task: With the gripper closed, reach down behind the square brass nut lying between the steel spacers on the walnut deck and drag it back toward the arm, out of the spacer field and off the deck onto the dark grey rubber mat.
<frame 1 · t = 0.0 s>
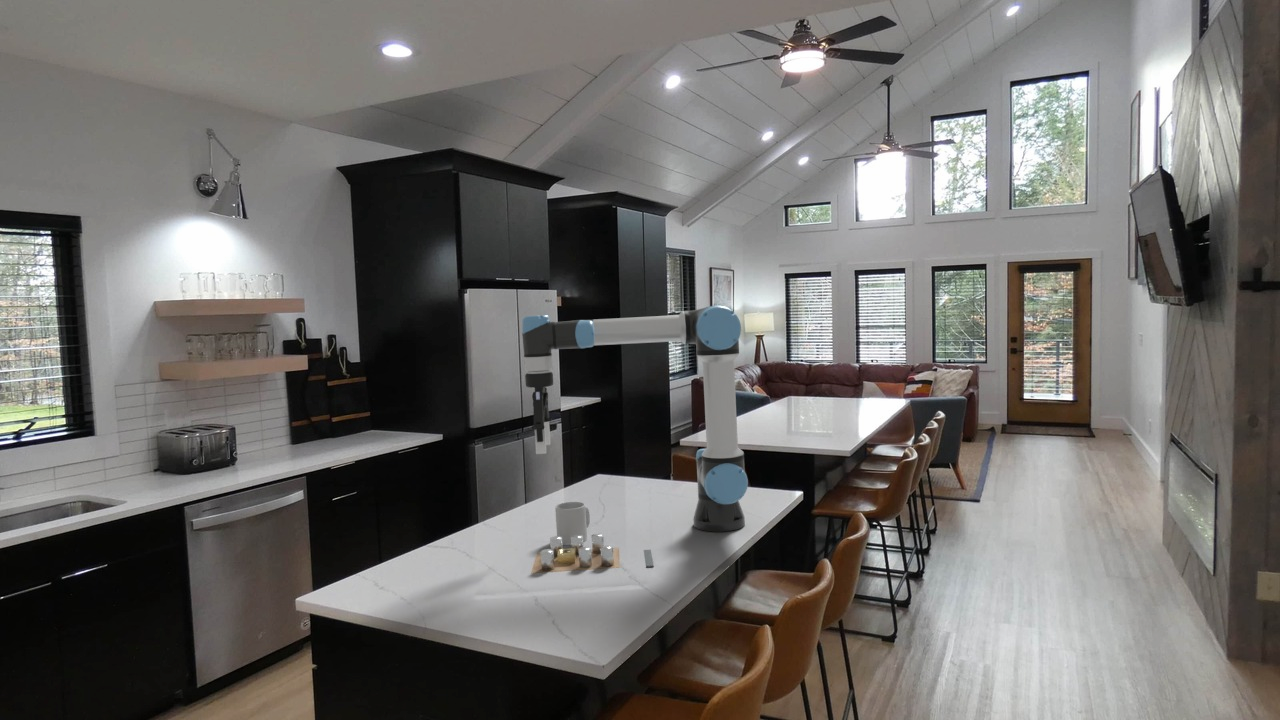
hand: (543, 449, 207), 28 cm above the kitchen island, fingers open, 13 cm apart
mat: (636, 559, 195), on the kitchen island
deck: (577, 563, 195), on the kitchen island
spacers: (578, 551, 195), on the deck, point 3 cm above the kitchen island
nut: (567, 560, 194), point 1 cm above the kitchen island, touching deck
mug: (576, 542, 214), on the kitchen island
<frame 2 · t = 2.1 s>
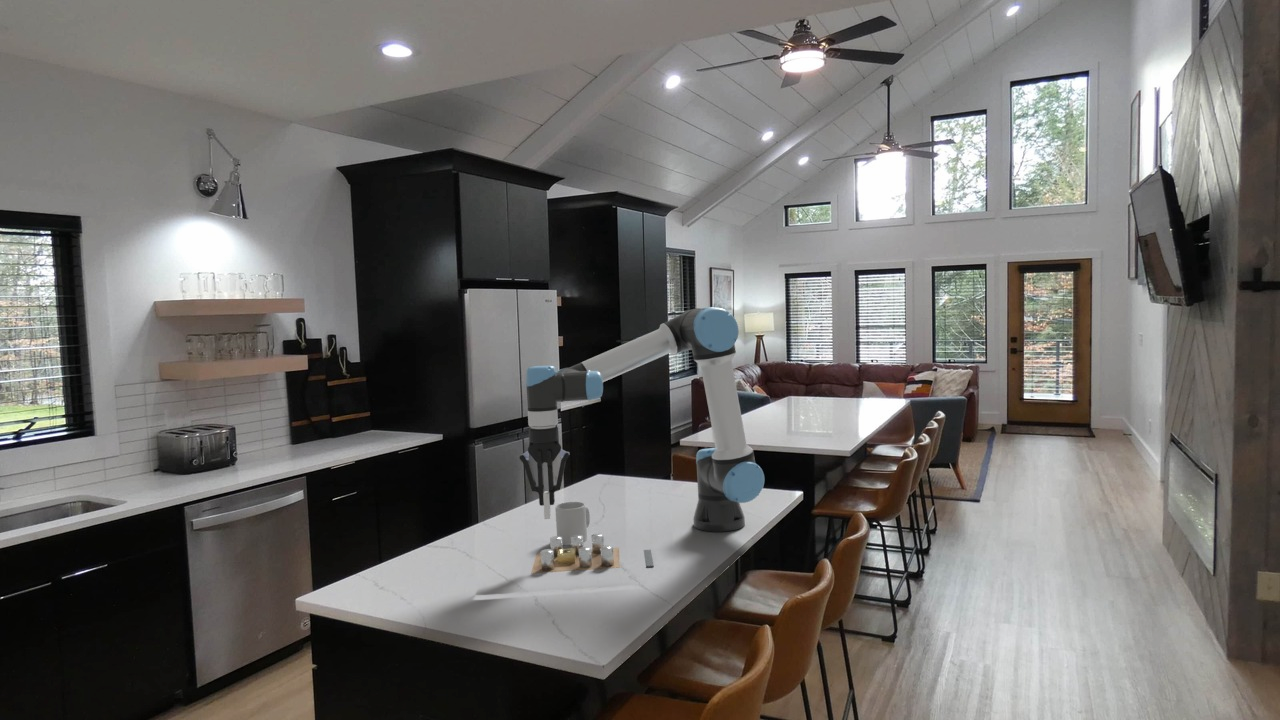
hand: (547, 517, 193), 13 cm above the kitchen island, fingers closed
nothing on the kitchen island moved.
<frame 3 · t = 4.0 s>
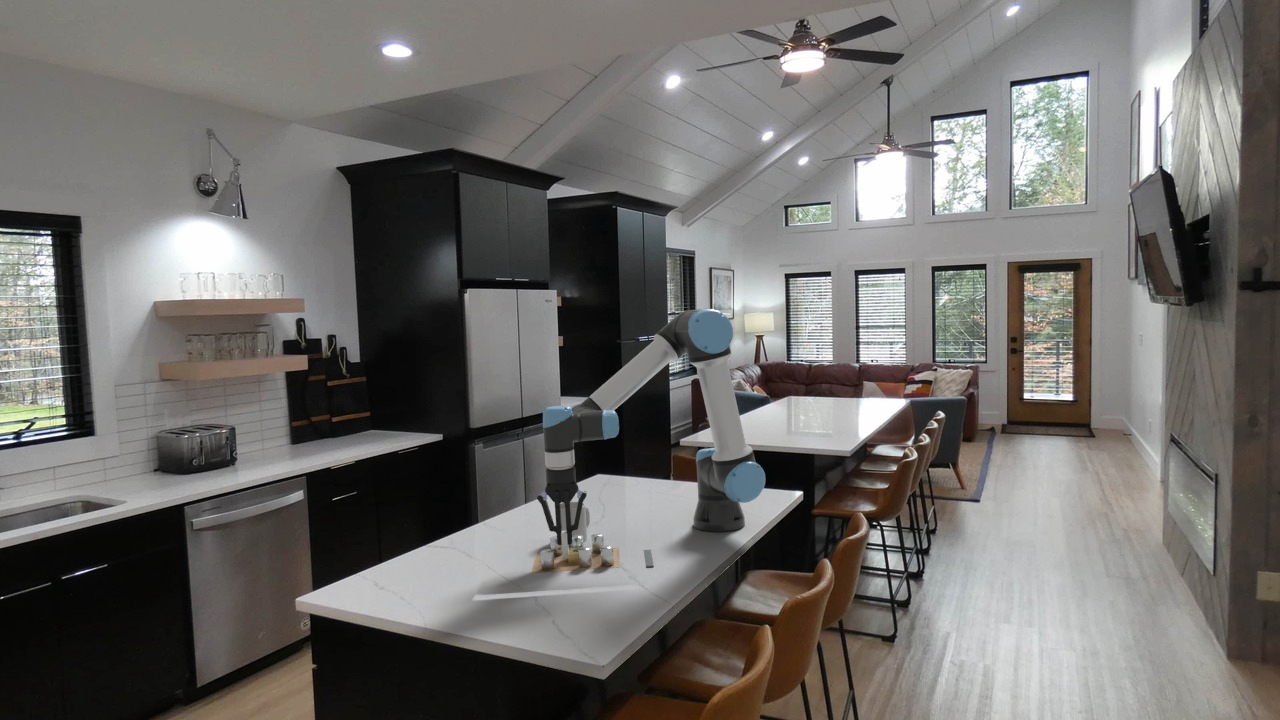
hand: (565, 556, 194), 2 cm above the kitchen island, fingers closed
nut: (577, 560, 195), point 1 cm above the kitchen island, touching deck
everything else where it was.
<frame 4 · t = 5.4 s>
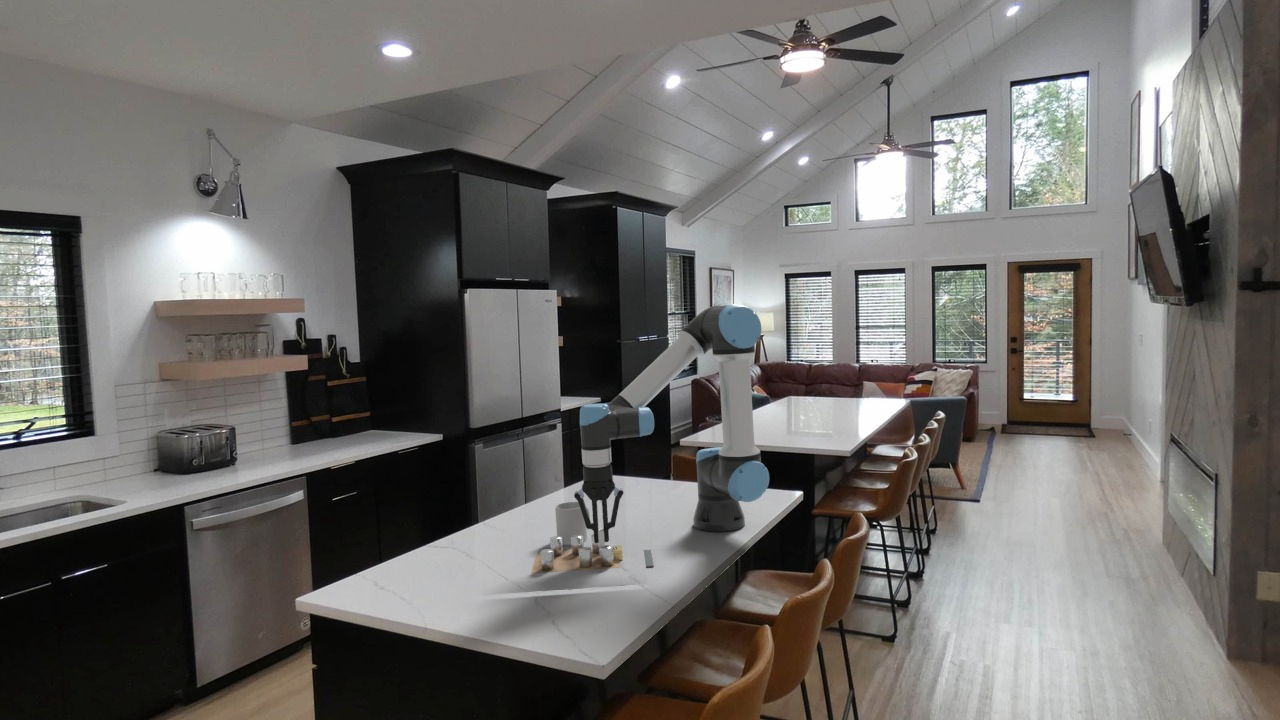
hand: (602, 554, 195), 2 cm above the kitchen island, fingers closed
nut: (614, 557, 195), point 1 cm above the kitchen island, touching gripper
everything else where it was.
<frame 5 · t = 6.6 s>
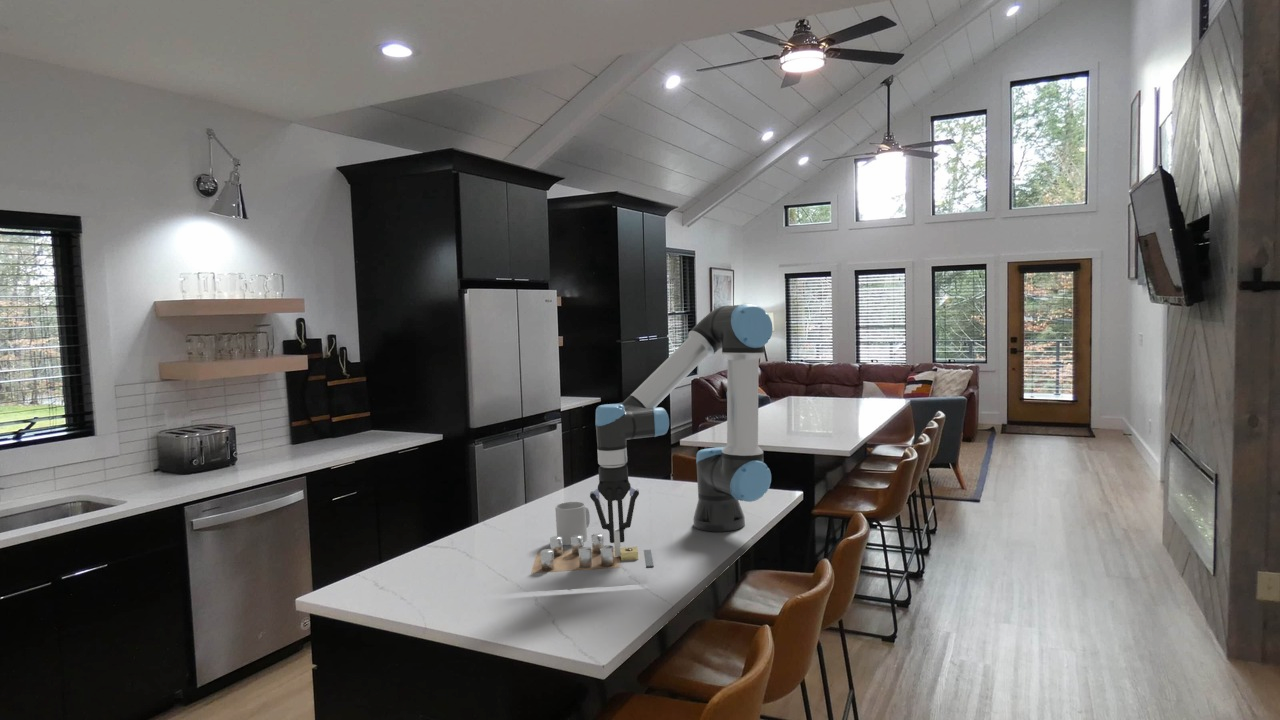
hand: (617, 554, 195), 2 cm above the kitchen island, fingers closed
nut: (629, 559, 195), resting on mat, touching gripper
everything else where it was.
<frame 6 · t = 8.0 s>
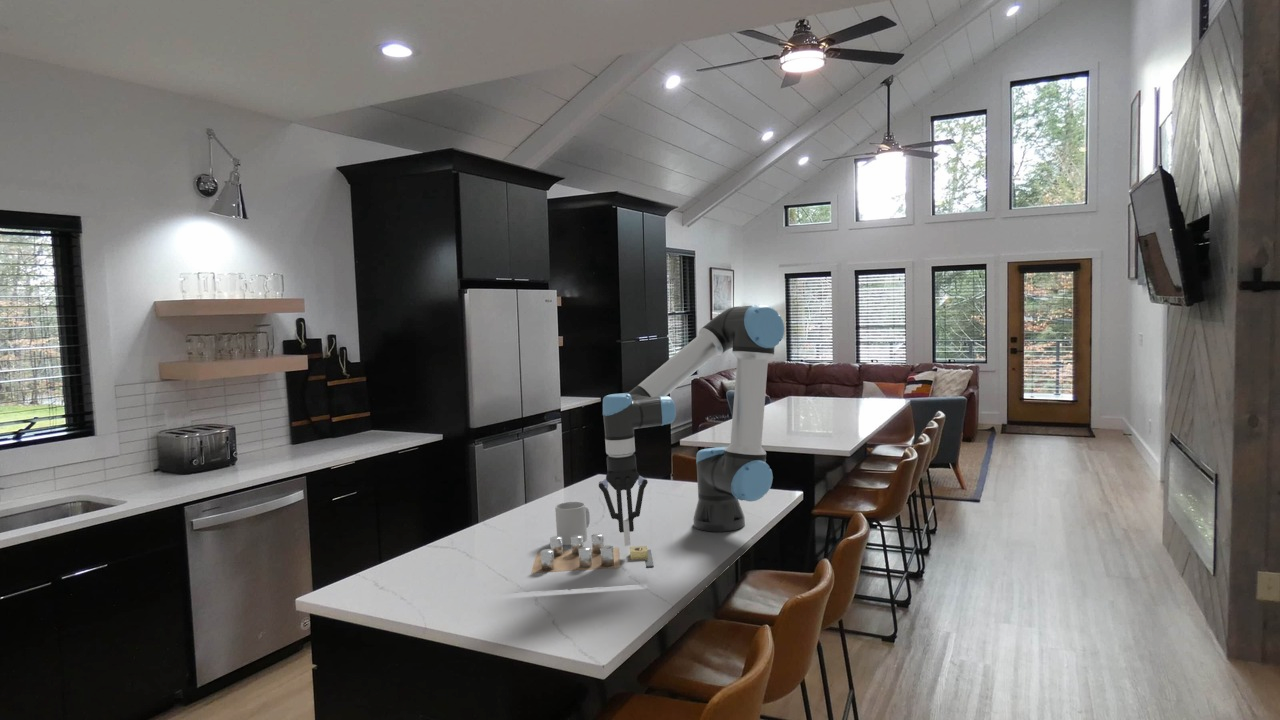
hand: (627, 543, 195), 4 cm above the kitchen island, fingers closed
nut: (639, 558, 195), resting on mat
everything else where it was.
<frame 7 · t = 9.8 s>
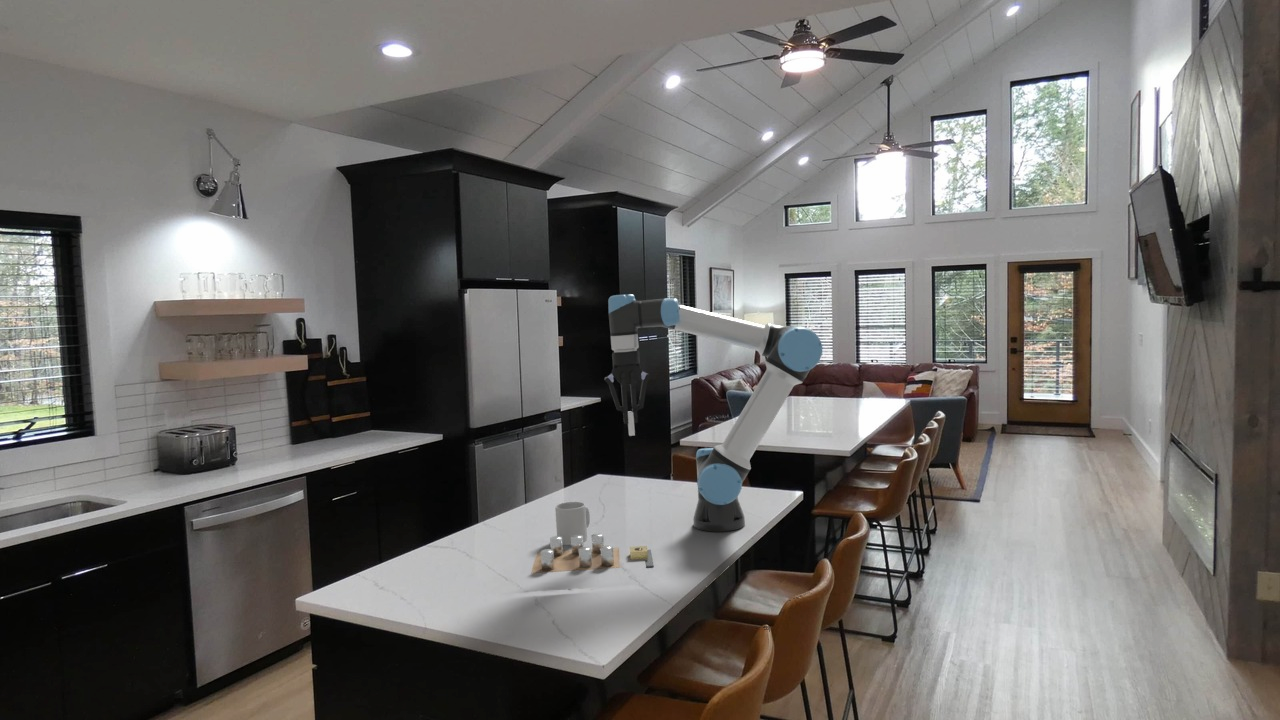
hand: (631, 434, 210), 30 cm above the kitchen island, fingers closed
nothing on the kitchen island moved.
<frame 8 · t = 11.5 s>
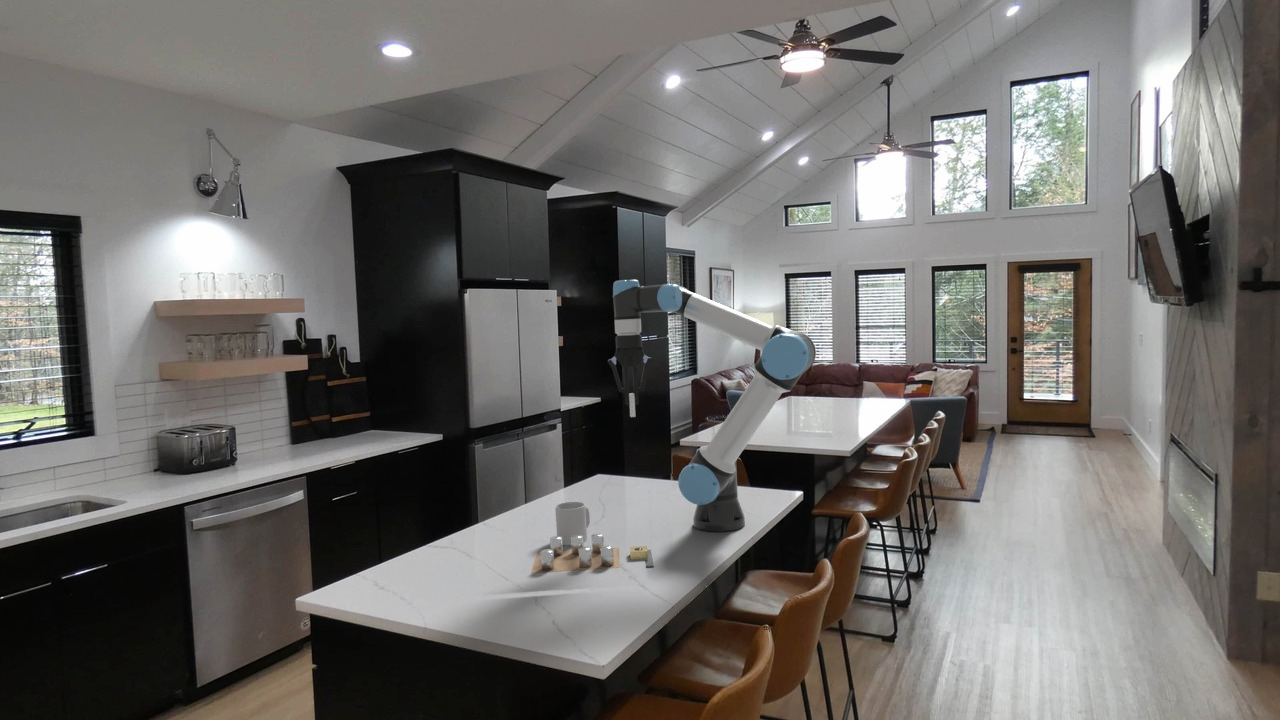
hand: (632, 416, 216), 34 cm above the kitchen island, fingers closed
nothing on the kitchen island moved.
at the end: nut inside the target area (0.4 cm from its centre), resting on mat; nut moved 18.6 cm from its start; nut touching mat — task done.
